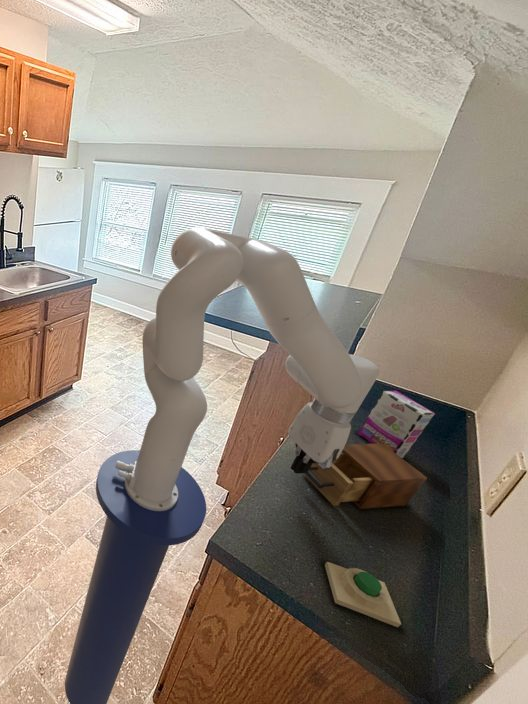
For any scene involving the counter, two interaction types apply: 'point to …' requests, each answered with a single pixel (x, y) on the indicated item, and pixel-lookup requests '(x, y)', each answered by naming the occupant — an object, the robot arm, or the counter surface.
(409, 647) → the counter surface
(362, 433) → the candy bar box
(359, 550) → the counter surface
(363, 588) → the button
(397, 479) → the cabinet
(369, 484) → the drawer
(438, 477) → the counter surface
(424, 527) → the counter surface
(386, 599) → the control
